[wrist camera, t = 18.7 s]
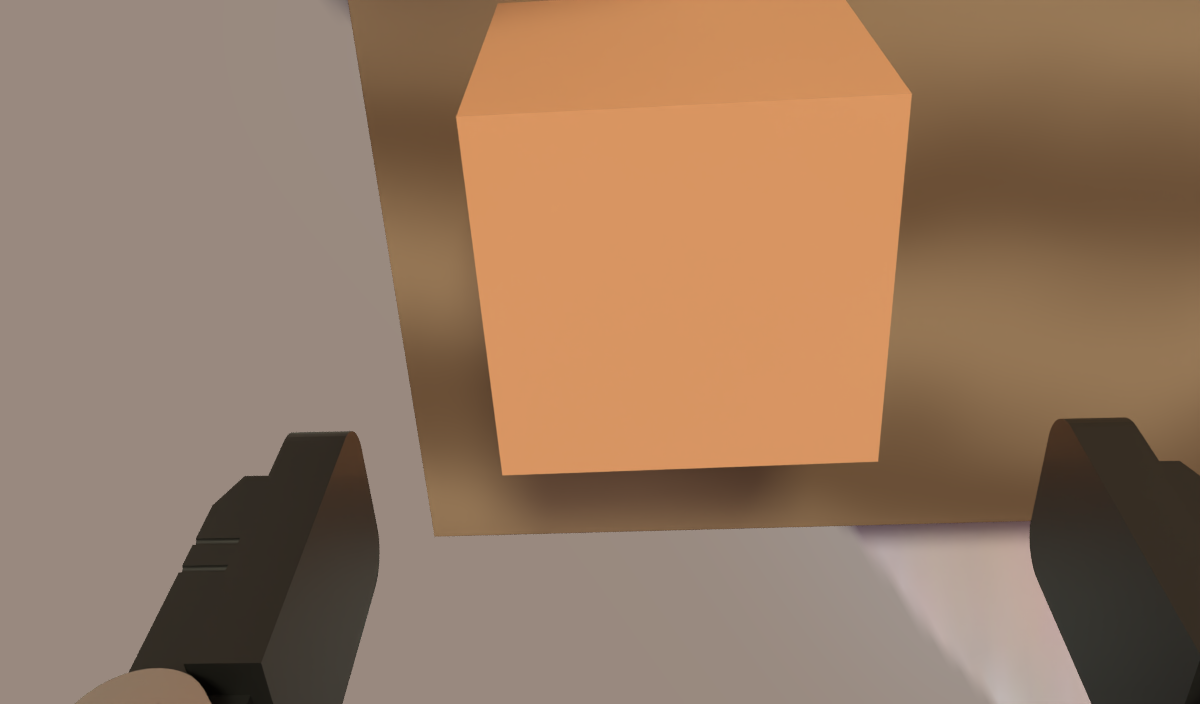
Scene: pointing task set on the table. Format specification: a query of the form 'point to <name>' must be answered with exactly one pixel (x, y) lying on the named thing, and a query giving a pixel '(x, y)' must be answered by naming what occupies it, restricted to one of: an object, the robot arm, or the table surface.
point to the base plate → (922, 279)
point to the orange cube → (684, 231)
